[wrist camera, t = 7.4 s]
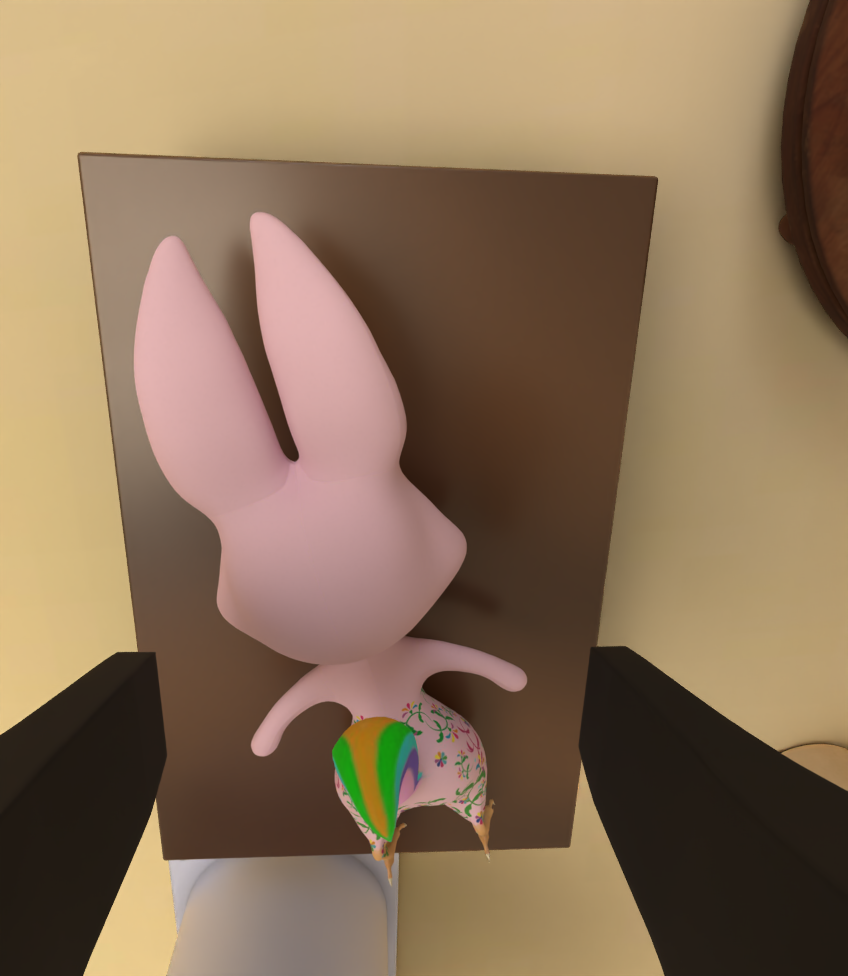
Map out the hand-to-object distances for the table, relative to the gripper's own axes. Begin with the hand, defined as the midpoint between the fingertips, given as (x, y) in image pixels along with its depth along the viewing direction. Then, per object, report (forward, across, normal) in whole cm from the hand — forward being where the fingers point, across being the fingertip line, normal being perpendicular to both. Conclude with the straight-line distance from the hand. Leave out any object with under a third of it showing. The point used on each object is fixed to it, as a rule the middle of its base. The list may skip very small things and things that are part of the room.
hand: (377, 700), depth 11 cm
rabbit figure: (+5, 0, 0) cm, 5 cm away
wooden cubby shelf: (+10, 0, 0) cm, 10 cm away
